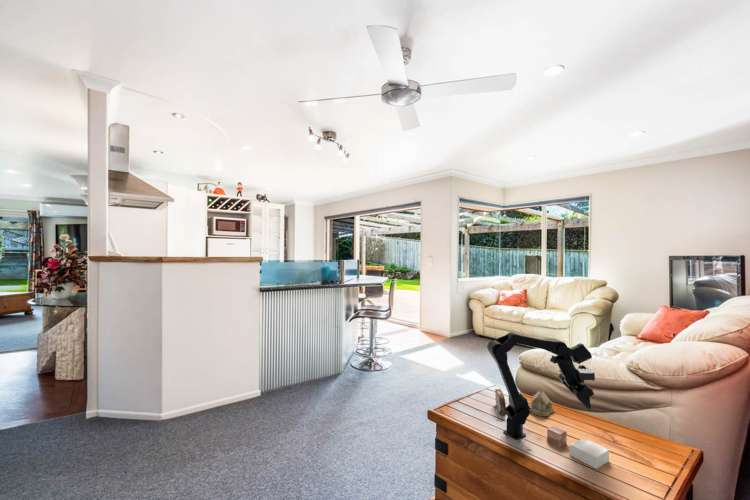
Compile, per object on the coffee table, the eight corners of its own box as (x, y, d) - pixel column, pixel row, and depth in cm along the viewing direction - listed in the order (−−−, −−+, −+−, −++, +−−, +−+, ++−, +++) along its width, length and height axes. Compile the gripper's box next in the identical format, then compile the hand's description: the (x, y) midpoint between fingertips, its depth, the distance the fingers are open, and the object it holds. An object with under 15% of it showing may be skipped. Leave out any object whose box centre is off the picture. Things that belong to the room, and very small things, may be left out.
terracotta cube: (559, 447, 127) (559, 434, 127) (547, 441, 131) (547, 428, 131) (566, 443, 129) (566, 431, 129) (554, 437, 133) (554, 425, 134)
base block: (596, 468, 114) (596, 457, 114) (569, 455, 121) (570, 444, 121) (608, 461, 118) (608, 449, 118) (582, 448, 126) (582, 438, 126)
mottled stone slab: (506, 417, 150) (506, 398, 150) (499, 416, 151) (499, 398, 151) (500, 403, 165) (500, 386, 165) (494, 402, 165) (494, 386, 166)
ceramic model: (530, 402, 167) (531, 382, 167) (555, 408, 160) (555, 388, 161) (525, 412, 155) (525, 391, 156) (551, 419, 149) (551, 397, 149)
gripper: (598, 370, 125) (616, 407, 124) (576, 353, 143) (592, 386, 143) (569, 380, 127) (587, 417, 126) (551, 362, 145) (567, 394, 145)
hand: (584, 402), depth 135 cm, fingers open, 9 cm apart
